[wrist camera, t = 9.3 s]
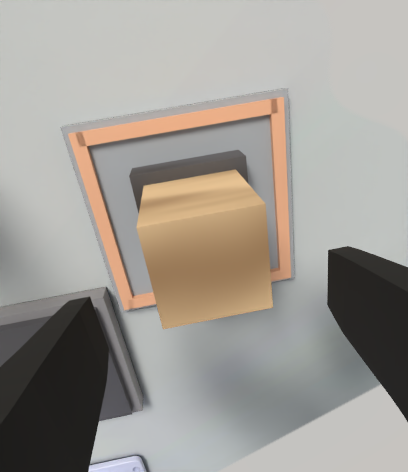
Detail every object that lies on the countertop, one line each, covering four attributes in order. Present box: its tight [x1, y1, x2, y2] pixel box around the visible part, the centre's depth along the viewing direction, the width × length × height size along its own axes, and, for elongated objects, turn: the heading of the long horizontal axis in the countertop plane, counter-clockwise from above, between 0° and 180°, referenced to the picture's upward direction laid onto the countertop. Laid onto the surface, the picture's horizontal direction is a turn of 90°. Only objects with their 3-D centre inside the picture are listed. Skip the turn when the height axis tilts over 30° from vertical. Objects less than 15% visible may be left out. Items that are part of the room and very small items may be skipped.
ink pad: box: [0, 287, 143, 421], centre depth 19 cm, size 9×9×2 cm
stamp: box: [129, 150, 273, 329], centre depth 13 cm, size 5×5×6 cm
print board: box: [60, 88, 295, 312], centre depth 16 cm, size 10×10×1 cm
